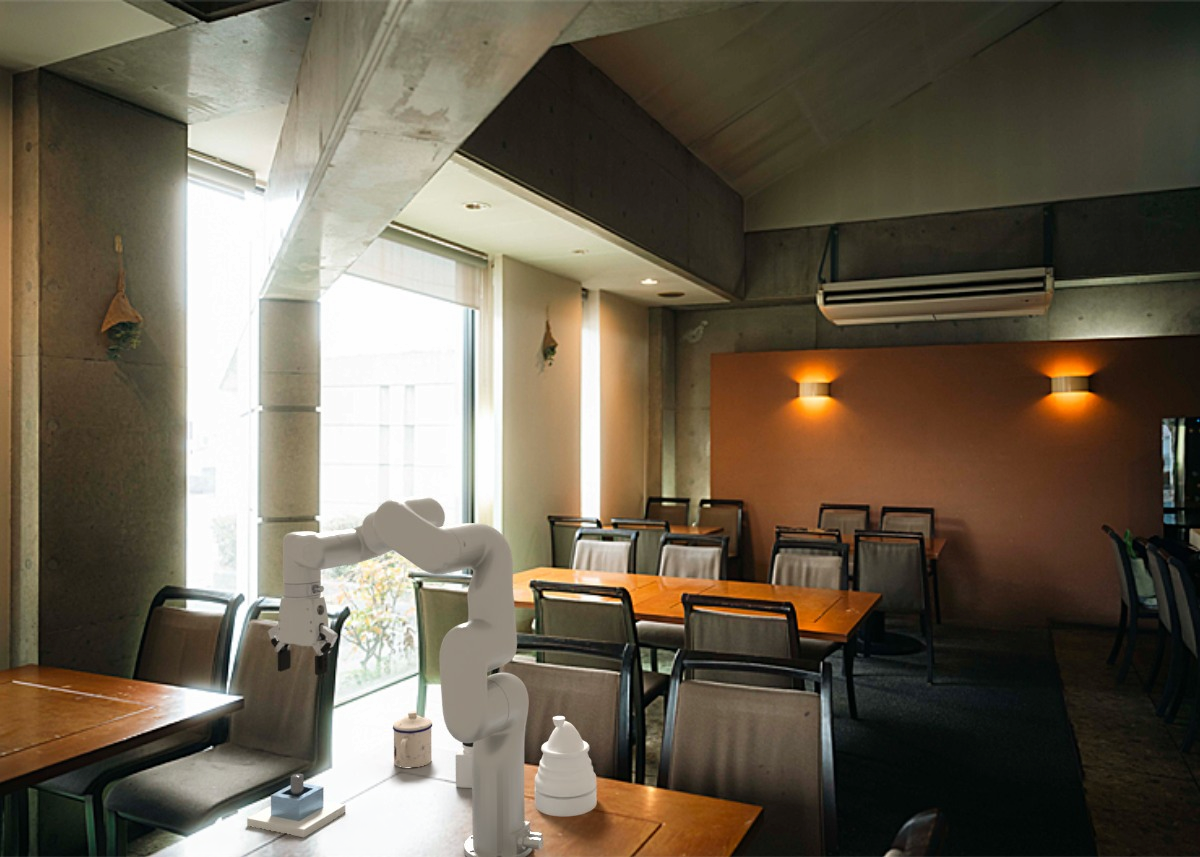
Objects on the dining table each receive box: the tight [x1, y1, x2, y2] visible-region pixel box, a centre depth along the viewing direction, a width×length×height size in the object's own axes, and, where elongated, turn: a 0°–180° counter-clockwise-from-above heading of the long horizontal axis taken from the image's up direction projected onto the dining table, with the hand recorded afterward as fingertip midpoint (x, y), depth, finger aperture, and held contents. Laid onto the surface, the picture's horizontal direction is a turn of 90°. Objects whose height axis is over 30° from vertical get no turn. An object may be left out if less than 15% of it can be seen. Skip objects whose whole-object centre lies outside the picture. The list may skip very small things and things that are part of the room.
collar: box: [270, 783, 324, 821], centre depth 169 cm, size 7×7×4 cm
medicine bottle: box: [455, 742, 474, 789], centre depth 187 cm, size 7×7×12 cm
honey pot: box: [534, 715, 598, 817], centre depth 176 cm, size 13×13×18 cm
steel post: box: [290, 773, 304, 797], centre depth 169 cm, size 3×3×7 cm
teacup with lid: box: [392, 711, 433, 768], centre depth 198 cm, size 12×9×12 cm
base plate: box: [246, 800, 346, 838], centre depth 169 cm, size 14×12×2 cm
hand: (302, 671), depth 179 cm, fingers open, 9 cm apart
